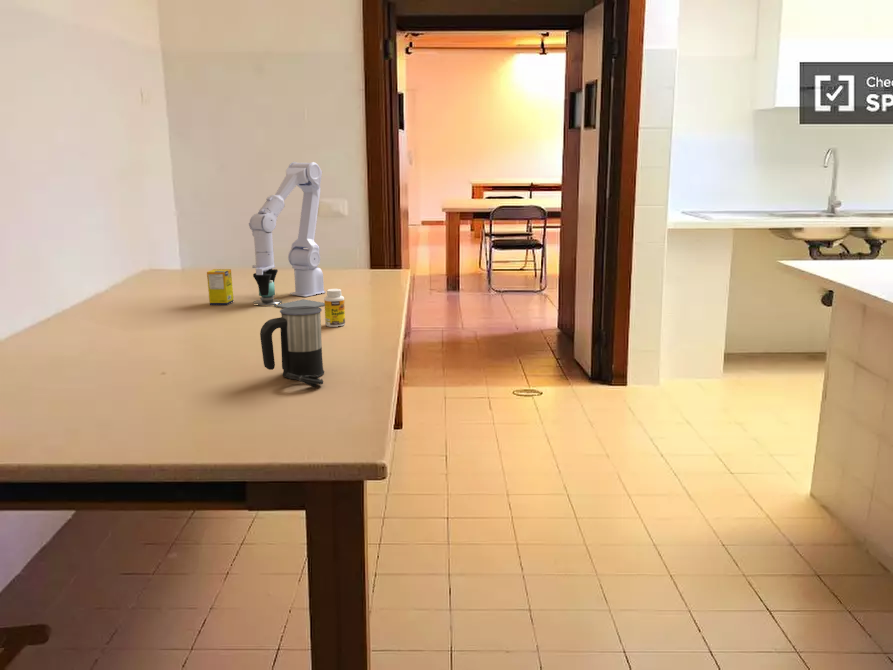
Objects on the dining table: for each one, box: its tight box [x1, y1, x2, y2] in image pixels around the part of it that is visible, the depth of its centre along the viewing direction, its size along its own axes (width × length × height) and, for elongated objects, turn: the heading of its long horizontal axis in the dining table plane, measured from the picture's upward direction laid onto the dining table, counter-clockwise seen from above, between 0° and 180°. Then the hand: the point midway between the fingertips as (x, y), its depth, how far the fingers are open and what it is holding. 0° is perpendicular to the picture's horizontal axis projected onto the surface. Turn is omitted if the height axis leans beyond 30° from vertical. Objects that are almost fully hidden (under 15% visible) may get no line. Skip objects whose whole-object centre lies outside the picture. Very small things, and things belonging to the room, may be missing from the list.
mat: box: [273, 298, 325, 309], centre depth 253 cm, size 12×12×1 cm
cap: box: [258, 280, 276, 297], centre depth 256 cm, size 5×5×5 cm
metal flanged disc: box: [252, 295, 283, 305], centre depth 257 cm, size 9×9×3 cm
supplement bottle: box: [323, 288, 346, 328], centre depth 224 cm, size 6×6×10 cm
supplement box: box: [206, 268, 235, 306], centre depth 257 cm, size 6×6×11 cm
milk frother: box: [259, 306, 325, 388], centre depth 172 cm, size 14×16×15 cm
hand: (266, 293), depth 256 cm, fingers closed on cap, 5 cm apart
